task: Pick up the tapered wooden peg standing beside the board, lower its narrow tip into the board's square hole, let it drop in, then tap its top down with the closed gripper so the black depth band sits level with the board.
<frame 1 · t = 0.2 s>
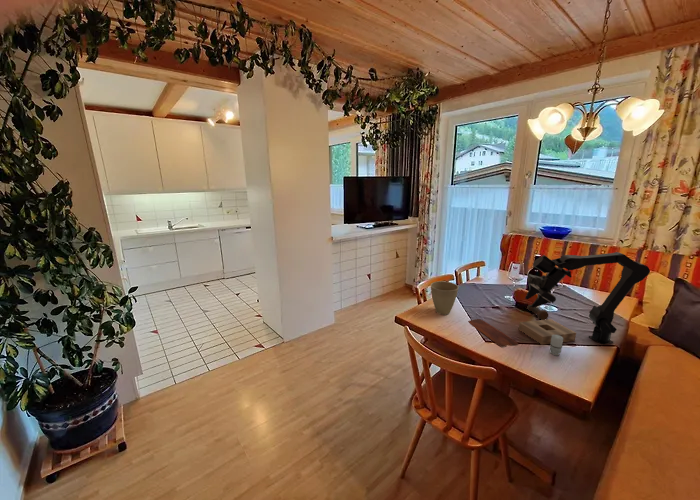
hand: (528, 302, 140), 15 cm above the table, tool tilted 30°, fingers open, 9 cm apart
board: (545, 334, 139), on the table
peg: (554, 353, 125), on the table
plant pot: (442, 312, 165), on the table
wooden tablet: (490, 333, 143), on the table
bolt: (534, 314, 162), on the table
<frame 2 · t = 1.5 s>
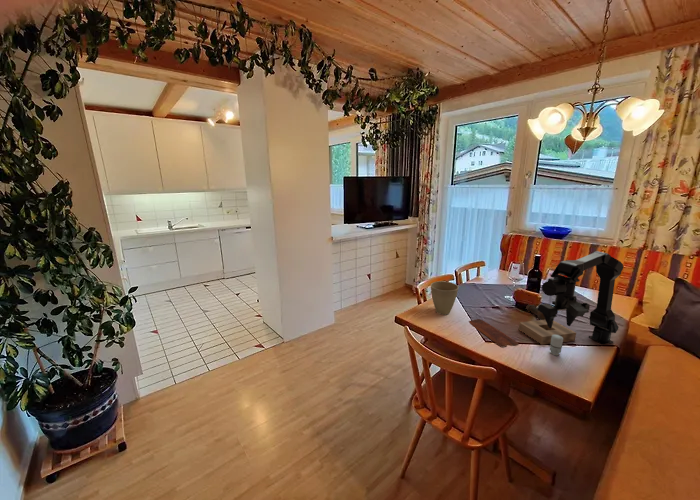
hand: (559, 326, 122), 13 cm above the table, tool pointing down, fingers open, 9 cm apart
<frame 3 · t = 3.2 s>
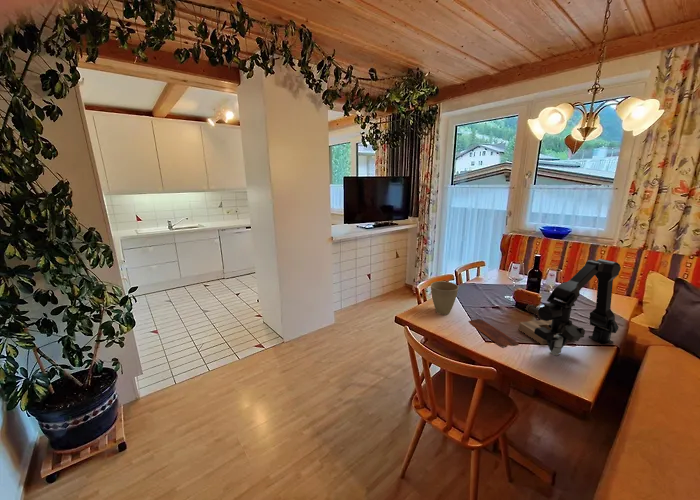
hand: (555, 349, 124), 2 cm above the table, tool pointing down, fingers closed on peg, 4 cm apart
peg: (554, 353, 125), on the table, touching gripper
everything else where it was.
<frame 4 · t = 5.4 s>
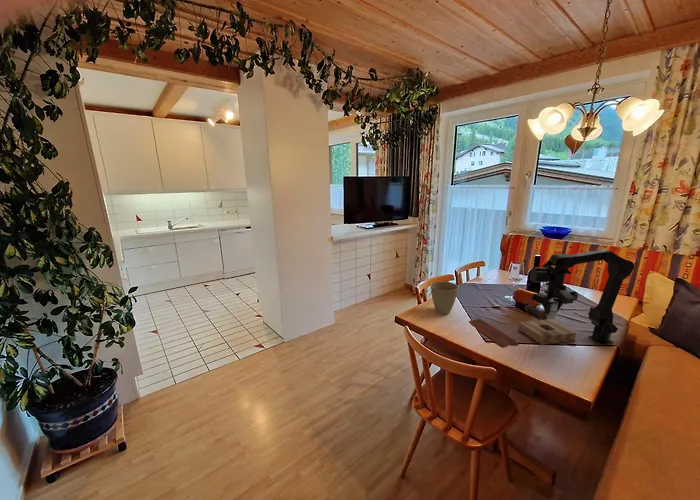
hand: (551, 313, 134), 12 cm above the table, tool pointing down, fingers closed on peg, 4 cm apart
peg: (550, 317, 135), point 10 cm above the table, touching gripper
when the fingers open (5 cm above the table, at t = 7.7 s): peg drops 3 cm, resting in board.
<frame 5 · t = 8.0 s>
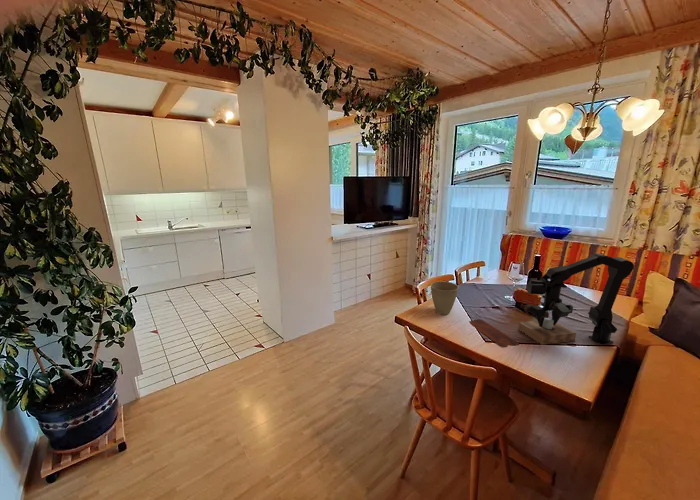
hand: (547, 325, 138), 5 cm above the table, tool pointing down, fingers open, 7 cm apart
peg: (545, 334, 139), resting in board
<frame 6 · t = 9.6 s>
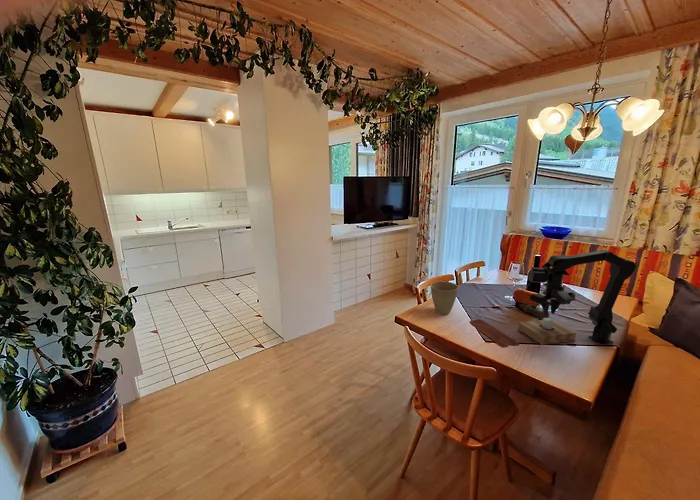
hand: (549, 314, 137), 11 cm above the table, tool pointing down, fingers open, 3 cm apart
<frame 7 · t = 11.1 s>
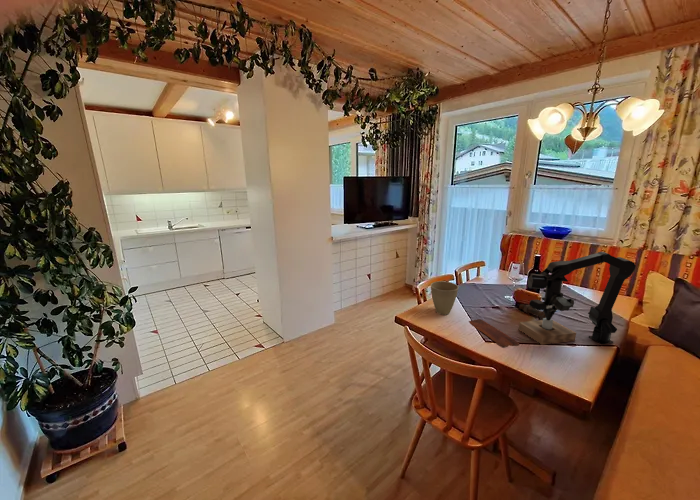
hand: (548, 319, 138), 8 cm above the table, tool pointing down, fingers closed, pressing on peg
peg: (545, 335, 140), resting in board, touching gripper
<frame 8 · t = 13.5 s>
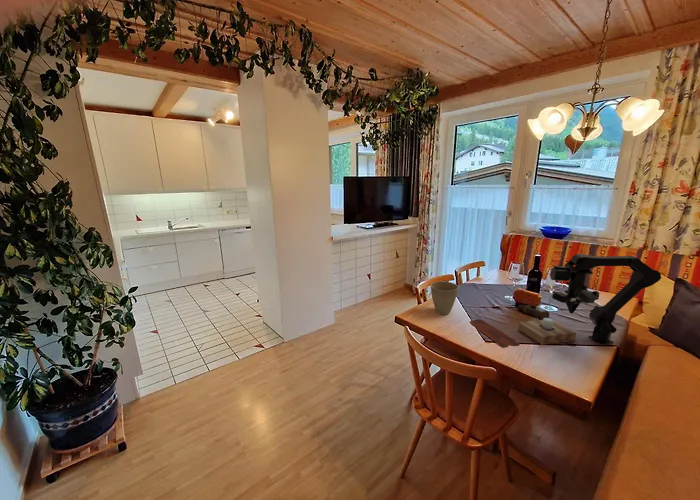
hand: (571, 313, 135), 12 cm above the table, tool pointing down, fingers closed
peg: (545, 334, 140), resting in board
at the end: peg 0.0 cm off-centre on the board, point 0.0 cm above the board's base; peg tilted 0°; the gripper is holding nothing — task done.
